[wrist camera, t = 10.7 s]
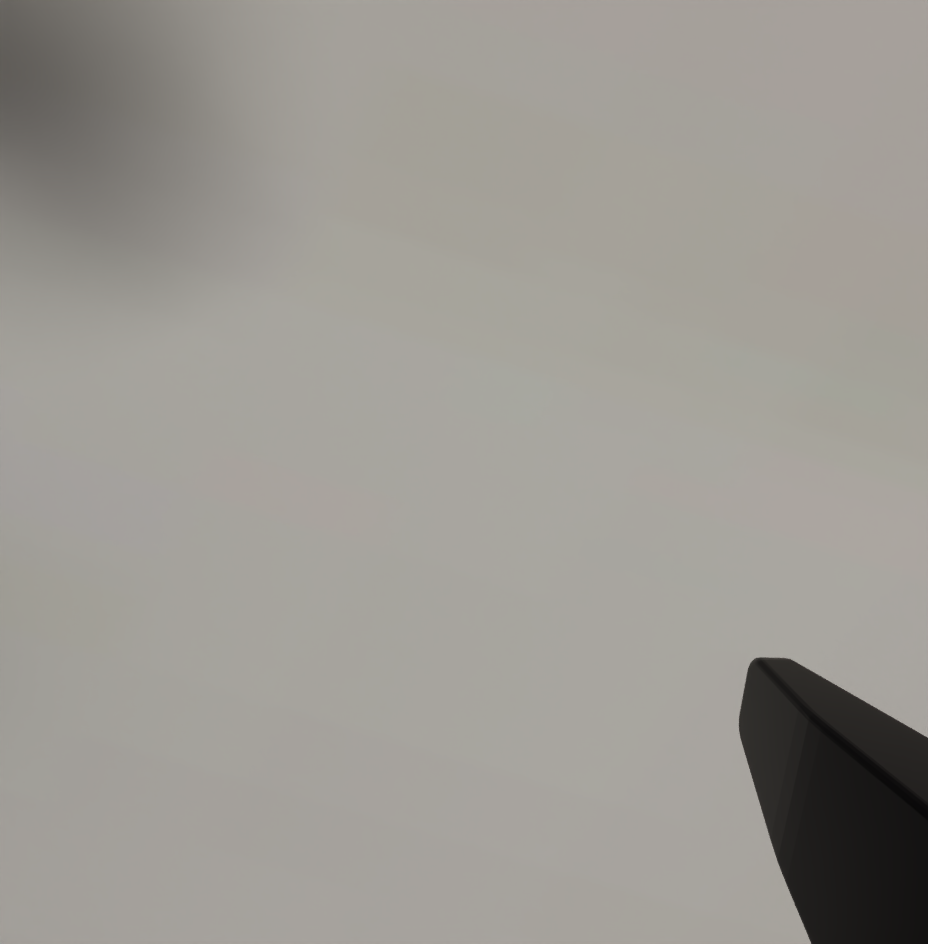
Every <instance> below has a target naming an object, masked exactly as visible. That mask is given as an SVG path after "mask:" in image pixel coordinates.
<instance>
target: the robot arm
mask: <svg viewBox="0 0 928 944" xmlns="http://www.w3.org/2000/svg"><path fill="white" fill-rule="evenodd" d="M739 732H740V738H741V741H742V745H743V748H744V752H745V755H746V758H747V762H748V765H749V768H750V772H751V775H752V779H753V782H754V785H755V789H756V792H757V796H758V799H759V802H760V806H761V809H762V812H763V816H764V819H765V823H766V826H767V829H768V833H769V836H770V839H771V843H772V846H773V849H774V852H775V855H776V858H777V861H778V864H779V866H780V869H781V871H782V874H783V876H784V879H785V882H786V884H787V886H788V889H789V891H790V894H791V896H792V898H793V901H794V903H795V906H796V908H797V910H798V913H799V915H800V917H801V920H802V922H803V925H804V927H805V929H806V932H807V934H808V937H809V939H810V941H811V944H928V738H927V737H926V736H924V735H922V734H920V733H919V732H917V731H915V730H913V729H912V728H910V727H908V726H906V725H905V724H903V723H901V722H899V721H898V720H896V719H894V718H892V717H891V716H889V715H887V714H885V713H884V712H882V711H880V710H878V709H877V708H875V707H873V706H871V705H870V704H868V703H866V702H865V701H863V700H861V699H859V698H858V697H856V696H854V695H852V694H851V693H849V692H847V691H845V690H844V689H842V688H840V687H838V686H837V685H835V684H833V683H831V682H830V681H828V680H826V679H824V678H823V677H821V676H819V675H817V674H816V673H814V672H812V671H810V670H809V669H807V668H805V667H803V666H802V665H800V664H798V663H796V662H795V661H793V660H791V659H787V658H755V659H754V660H753V661H752V662H751V663H750V666H749V668H748V672H747V677H746V683H745V688H744V693H743V699H742V704H741V710H740V716H739Z"/></svg>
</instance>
